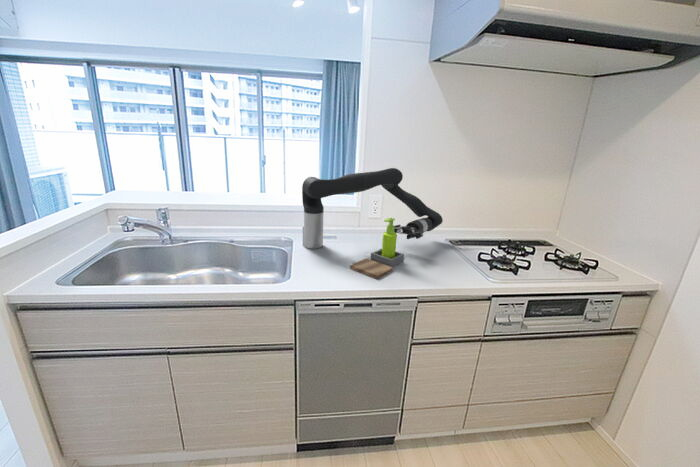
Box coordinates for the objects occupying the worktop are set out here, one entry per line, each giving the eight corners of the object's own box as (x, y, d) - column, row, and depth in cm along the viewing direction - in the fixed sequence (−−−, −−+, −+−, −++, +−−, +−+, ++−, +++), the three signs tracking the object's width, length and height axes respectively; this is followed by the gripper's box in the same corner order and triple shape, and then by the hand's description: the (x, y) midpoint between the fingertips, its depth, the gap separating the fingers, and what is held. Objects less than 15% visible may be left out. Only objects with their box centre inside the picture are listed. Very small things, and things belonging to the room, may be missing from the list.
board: (350, 268, 132) (350, 265, 132) (366, 261, 140) (366, 258, 140) (377, 279, 124) (377, 275, 123) (392, 270, 132) (393, 267, 131)
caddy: (370, 261, 140) (370, 253, 139) (383, 255, 147) (383, 247, 146) (391, 269, 133) (391, 260, 132) (403, 262, 141) (404, 254, 140)
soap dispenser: (376, 262, 140) (380, 218, 134) (386, 258, 145) (389, 215, 139) (387, 266, 136) (391, 221, 130) (396, 262, 141) (401, 218, 135)
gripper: (405, 217, 158) (386, 223, 146) (431, 223, 150) (414, 230, 138) (403, 231, 161) (385, 238, 149) (429, 238, 152) (412, 246, 140)
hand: (399, 234), depth 143 cm, fingers open, 8 cm apart
